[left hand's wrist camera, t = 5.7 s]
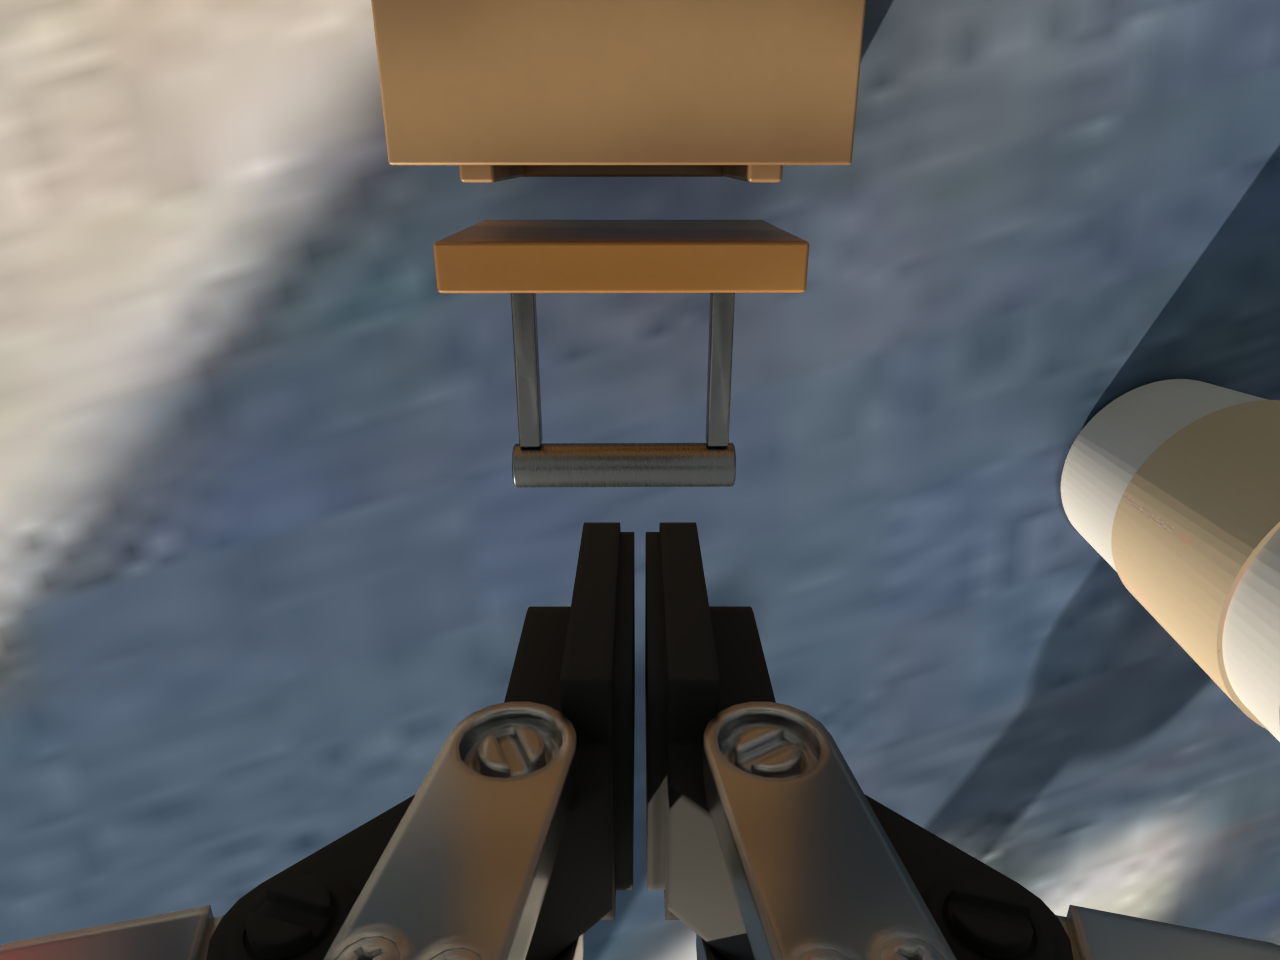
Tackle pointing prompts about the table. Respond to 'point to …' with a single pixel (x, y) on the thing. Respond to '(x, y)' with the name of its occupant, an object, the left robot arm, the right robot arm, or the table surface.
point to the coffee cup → (1192, 523)
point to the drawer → (622, 264)
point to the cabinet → (619, 81)
